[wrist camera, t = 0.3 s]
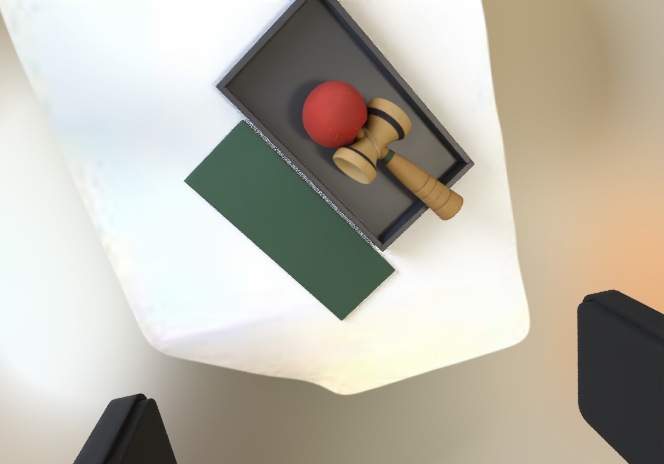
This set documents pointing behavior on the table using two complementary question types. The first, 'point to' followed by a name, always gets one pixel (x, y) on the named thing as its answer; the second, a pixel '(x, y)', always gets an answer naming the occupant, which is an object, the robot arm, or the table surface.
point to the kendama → (370, 141)
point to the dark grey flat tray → (372, 82)
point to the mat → (289, 221)
